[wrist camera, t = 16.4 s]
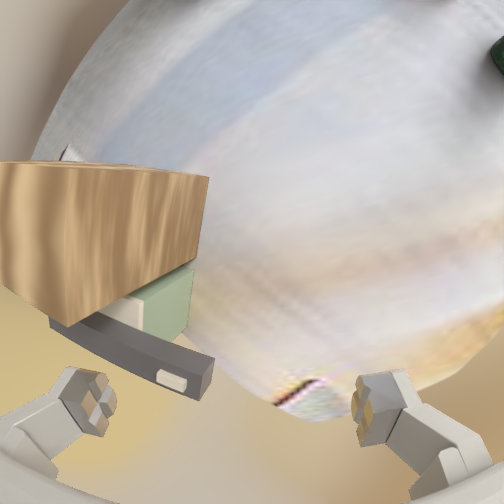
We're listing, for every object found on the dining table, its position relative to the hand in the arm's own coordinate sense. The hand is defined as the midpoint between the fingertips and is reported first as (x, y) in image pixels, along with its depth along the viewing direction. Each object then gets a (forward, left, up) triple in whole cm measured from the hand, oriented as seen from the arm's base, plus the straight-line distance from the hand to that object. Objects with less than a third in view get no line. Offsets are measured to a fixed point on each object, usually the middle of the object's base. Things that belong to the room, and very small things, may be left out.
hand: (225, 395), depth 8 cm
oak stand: (-19, -12, -33) cm, 40 cm away
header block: (-11, -22, -33) cm, 41 cm away
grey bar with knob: (-7, -20, -18) cm, 28 cm away
